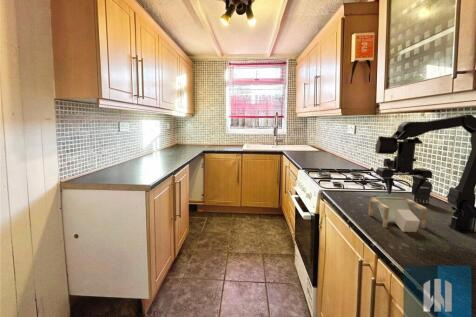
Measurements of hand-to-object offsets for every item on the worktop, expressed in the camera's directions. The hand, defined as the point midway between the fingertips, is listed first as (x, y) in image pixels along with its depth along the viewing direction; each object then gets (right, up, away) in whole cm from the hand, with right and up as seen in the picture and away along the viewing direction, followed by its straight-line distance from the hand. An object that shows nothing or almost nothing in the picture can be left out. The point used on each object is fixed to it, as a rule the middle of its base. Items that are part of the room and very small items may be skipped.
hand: (401, 194), depth 107 cm
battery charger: (+26, -8, +28) cm, 39 cm away
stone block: (0, -8, -1) cm, 8 cm away
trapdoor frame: (0, -12, +3) cm, 12 cm away
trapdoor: (0, -7, +4) cm, 9 cm away
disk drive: (+10, -9, +27) cm, 30 cm away
